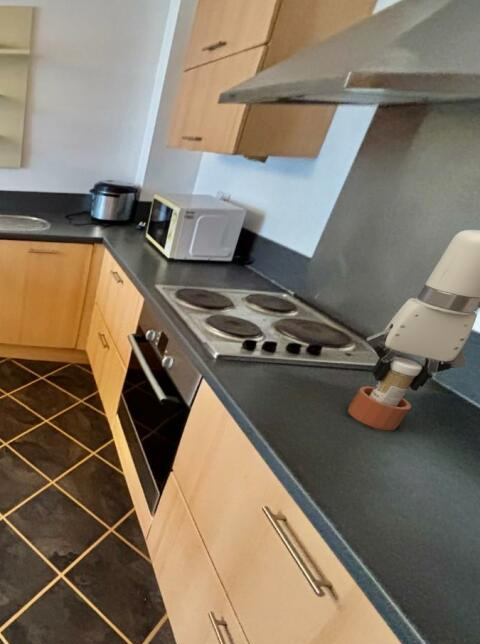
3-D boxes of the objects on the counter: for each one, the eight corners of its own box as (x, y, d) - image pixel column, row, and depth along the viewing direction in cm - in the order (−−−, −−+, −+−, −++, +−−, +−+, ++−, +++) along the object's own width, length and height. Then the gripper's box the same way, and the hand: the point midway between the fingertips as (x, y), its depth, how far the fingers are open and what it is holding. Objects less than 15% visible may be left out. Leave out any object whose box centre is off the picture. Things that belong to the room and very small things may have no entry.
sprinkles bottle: (356, 407, 91) (388, 354, 85) (381, 413, 89) (416, 359, 83) (364, 418, 87) (398, 364, 81) (391, 425, 85) (428, 370, 79)
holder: (391, 416, 90) (405, 395, 87) (400, 435, 83) (416, 414, 81) (345, 402, 93) (357, 382, 91) (350, 420, 87) (364, 399, 85)
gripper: (504, 306, 75) (444, 389, 83) (382, 283, 83) (339, 361, 91) (524, 319, 69) (458, 407, 77) (392, 293, 77) (344, 376, 85)
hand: (394, 381), depth 84 cm, fingers open, 4 cm apart
